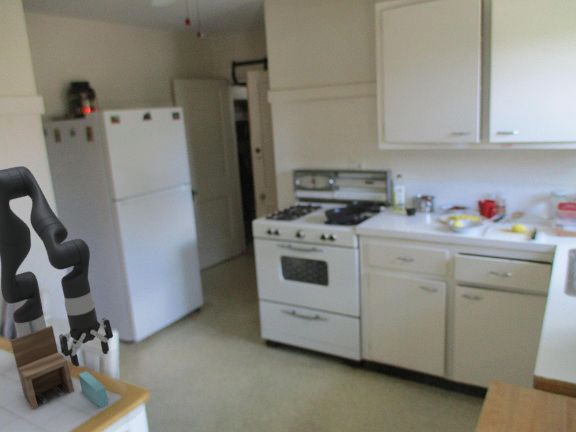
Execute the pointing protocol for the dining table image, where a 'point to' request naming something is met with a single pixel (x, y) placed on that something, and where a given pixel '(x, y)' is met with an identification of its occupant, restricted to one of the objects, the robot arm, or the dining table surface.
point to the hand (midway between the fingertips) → (91, 359)
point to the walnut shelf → (40, 365)
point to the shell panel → (93, 389)
